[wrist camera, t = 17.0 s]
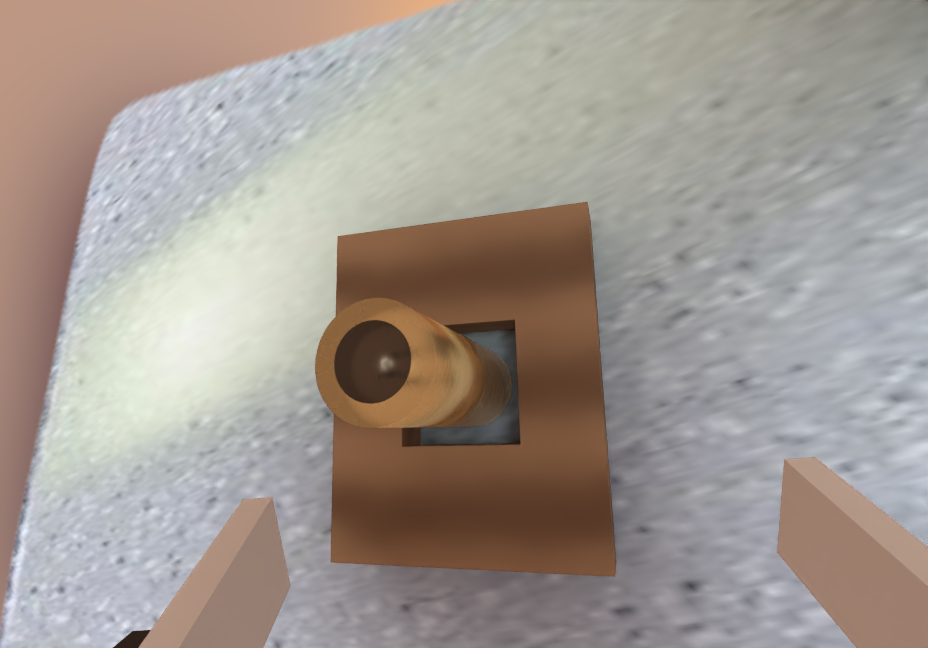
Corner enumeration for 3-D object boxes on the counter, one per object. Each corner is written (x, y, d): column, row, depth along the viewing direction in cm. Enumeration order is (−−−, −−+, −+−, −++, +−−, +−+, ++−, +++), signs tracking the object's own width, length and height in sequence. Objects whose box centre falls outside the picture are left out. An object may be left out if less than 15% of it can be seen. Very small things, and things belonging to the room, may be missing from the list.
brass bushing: (435, 349, 35) (315, 303, 21) (510, 344, 33) (431, 291, 20) (436, 428, 34) (312, 429, 20) (514, 425, 32) (433, 425, 19)
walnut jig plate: (359, 250, 38) (337, 236, 35) (590, 220, 33) (587, 201, 30) (355, 550, 34) (330, 562, 31) (616, 561, 29) (615, 576, 27)
